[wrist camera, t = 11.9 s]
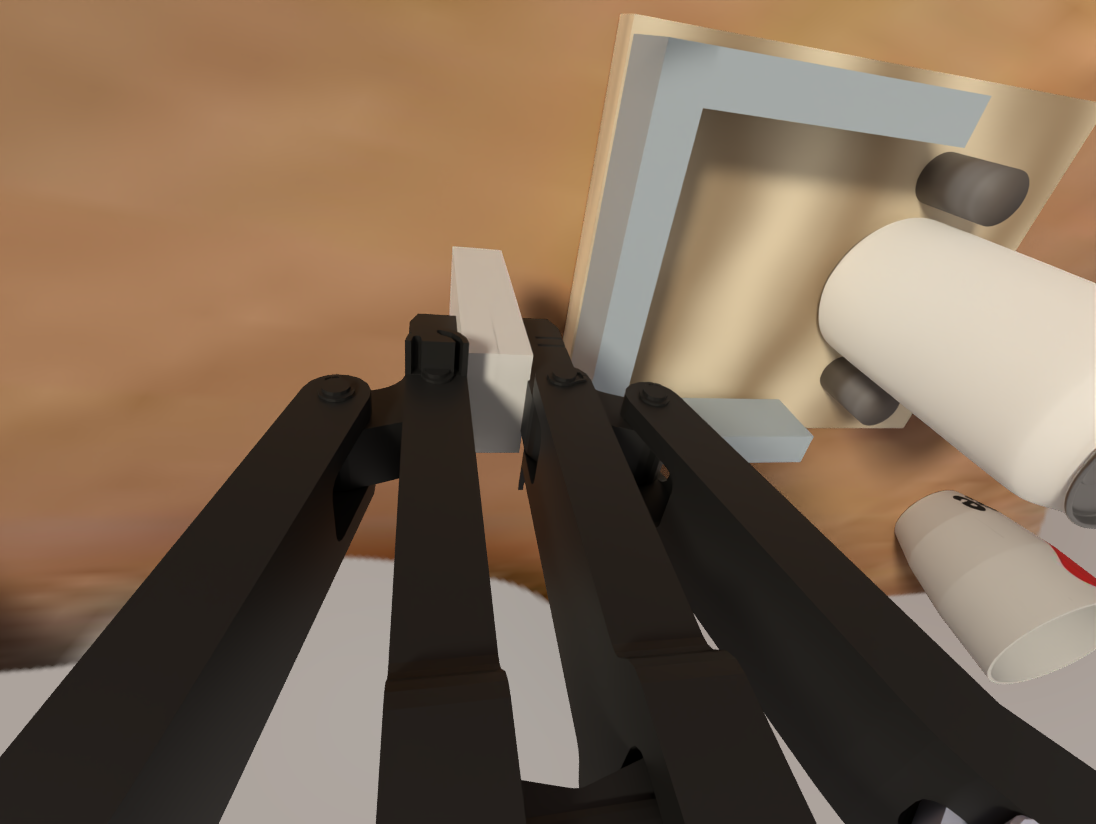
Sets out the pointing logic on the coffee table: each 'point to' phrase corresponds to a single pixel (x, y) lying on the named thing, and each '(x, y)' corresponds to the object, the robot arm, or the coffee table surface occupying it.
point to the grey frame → (657, 177)
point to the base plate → (812, 226)
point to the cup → (999, 587)
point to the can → (977, 352)
